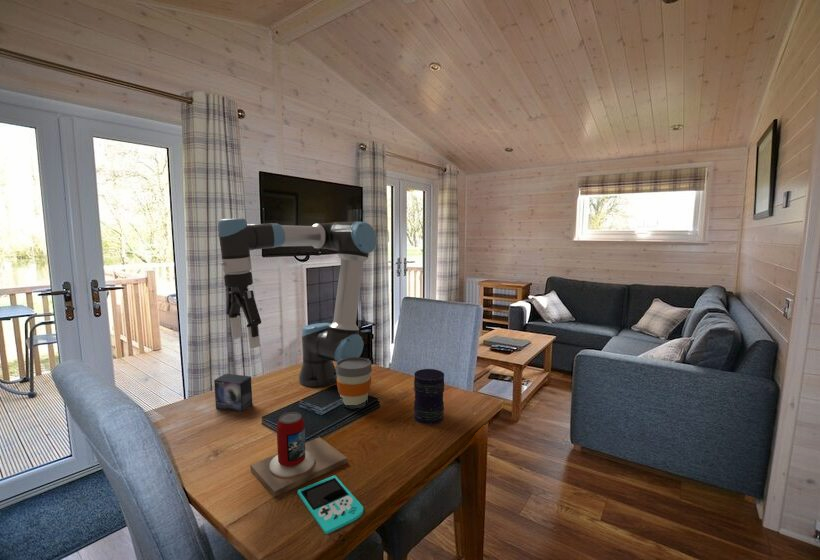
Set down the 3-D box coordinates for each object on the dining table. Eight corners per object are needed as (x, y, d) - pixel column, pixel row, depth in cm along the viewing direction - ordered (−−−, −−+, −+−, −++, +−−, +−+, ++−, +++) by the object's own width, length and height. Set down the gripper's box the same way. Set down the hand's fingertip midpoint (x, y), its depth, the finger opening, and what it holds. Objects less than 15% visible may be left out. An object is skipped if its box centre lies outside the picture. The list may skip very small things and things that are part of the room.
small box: (214, 409, 135) (212, 379, 134) (227, 401, 142) (225, 372, 140) (241, 412, 133) (239, 382, 131) (253, 404, 139) (252, 375, 138)
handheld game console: (325, 537, 80) (324, 531, 80) (296, 495, 93) (295, 489, 93) (367, 516, 86) (367, 510, 86) (335, 478, 99) (334, 473, 99)
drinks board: (319, 441, 115) (319, 434, 115) (347, 462, 105) (347, 454, 105) (250, 470, 101) (250, 461, 101) (274, 497, 91) (274, 488, 91)
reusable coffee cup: (338, 396, 146) (338, 357, 144) (372, 396, 147) (372, 356, 145) (333, 412, 134) (332, 369, 132) (371, 411, 134) (370, 369, 132)
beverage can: (297, 470, 98) (296, 424, 96) (272, 467, 99) (270, 421, 97) (310, 455, 104) (308, 412, 103) (286, 452, 106) (284, 409, 104)
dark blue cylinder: (408, 414, 132) (408, 371, 130) (433, 408, 137) (434, 366, 135) (423, 428, 124) (423, 382, 122) (449, 421, 128) (450, 376, 126)
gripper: (210, 270, 122) (218, 336, 125) (241, 278, 104) (250, 355, 107) (235, 267, 127) (242, 331, 130) (268, 274, 109) (276, 348, 112)
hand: (245, 342), depth 119 cm, fingers open, 13 cm apart
